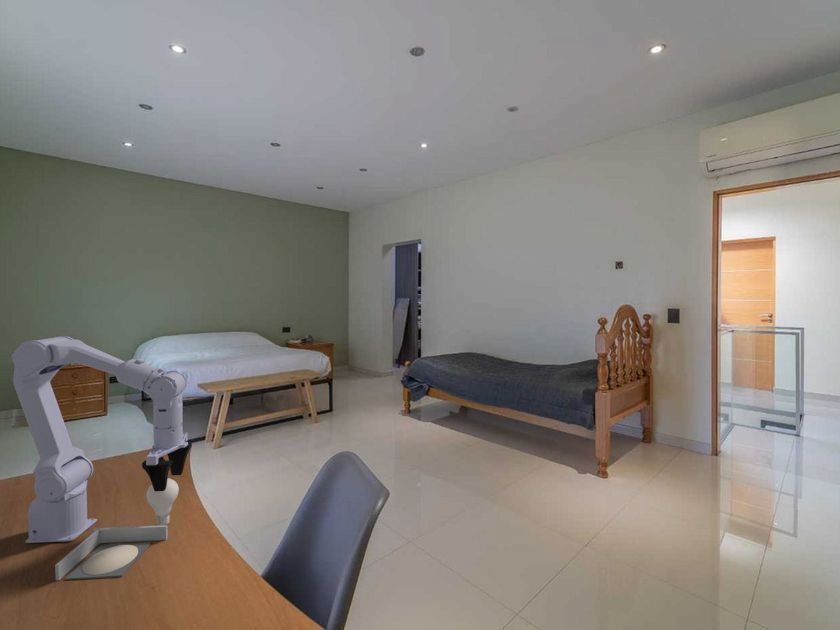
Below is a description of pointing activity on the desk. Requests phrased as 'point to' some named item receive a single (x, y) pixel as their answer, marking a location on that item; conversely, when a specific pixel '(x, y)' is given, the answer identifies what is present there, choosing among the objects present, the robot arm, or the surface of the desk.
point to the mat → (109, 561)
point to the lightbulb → (163, 501)
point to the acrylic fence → (107, 537)
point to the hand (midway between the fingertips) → (168, 482)
